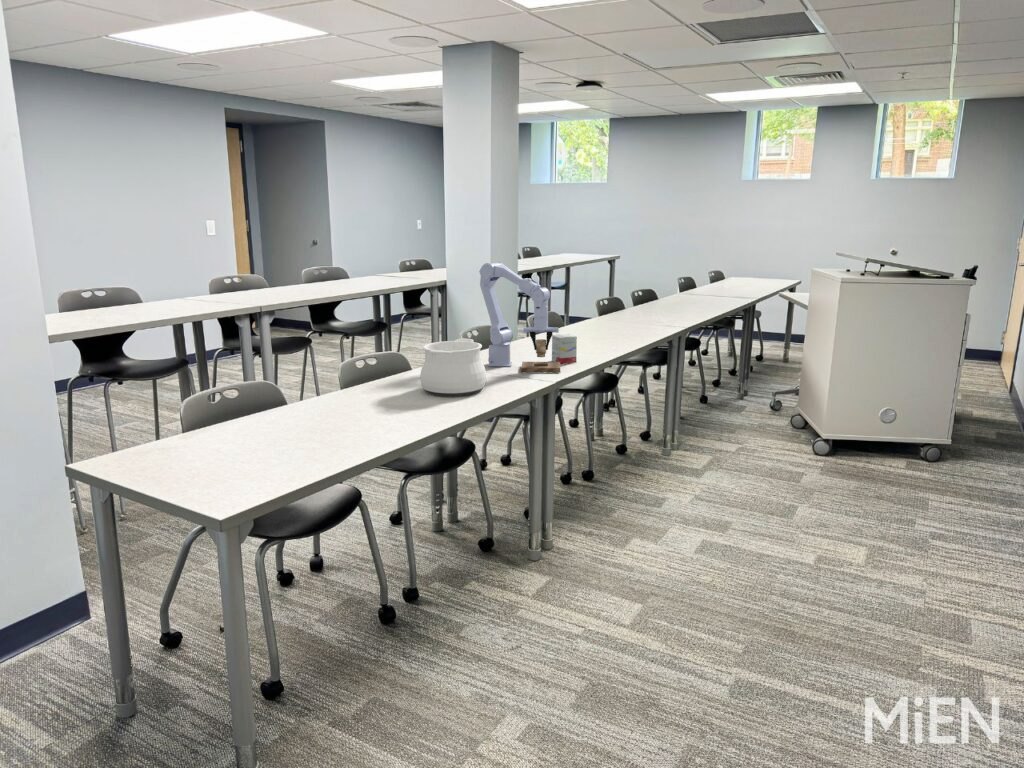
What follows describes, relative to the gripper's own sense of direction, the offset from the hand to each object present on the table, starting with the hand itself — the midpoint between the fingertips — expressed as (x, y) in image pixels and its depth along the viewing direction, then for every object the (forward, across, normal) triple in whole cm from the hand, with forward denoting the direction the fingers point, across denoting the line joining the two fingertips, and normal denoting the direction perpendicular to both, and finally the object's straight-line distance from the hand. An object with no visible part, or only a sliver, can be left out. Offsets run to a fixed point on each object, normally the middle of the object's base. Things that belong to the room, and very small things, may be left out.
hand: (541, 349), depth 299 cm
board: (+8, 0, 0) cm, 9 cm away
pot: (+9, -32, -37) cm, 50 cm away
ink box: (+9, +10, +17) cm, 22 cm away
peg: (+3, 0, 0) cm, 3 cm away
